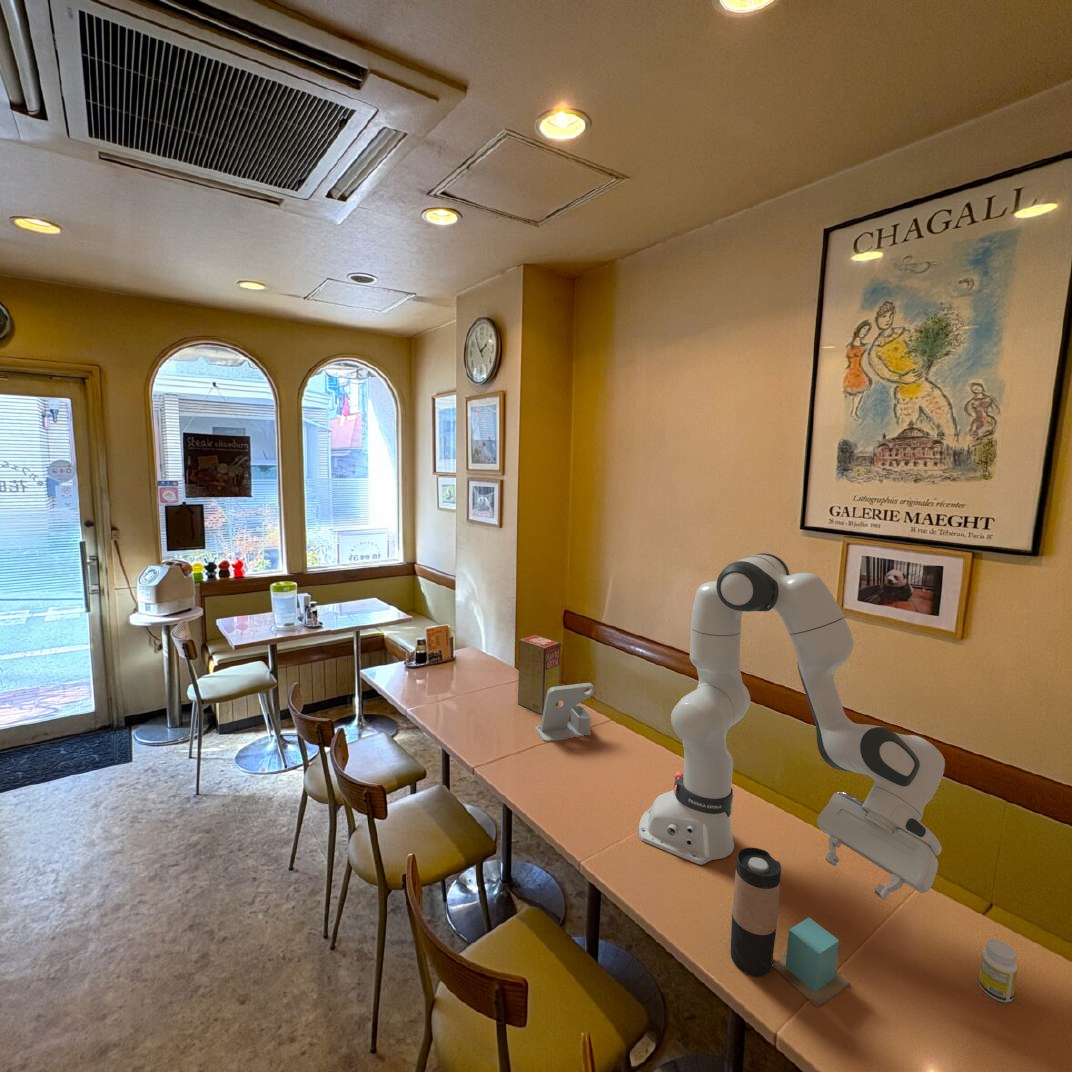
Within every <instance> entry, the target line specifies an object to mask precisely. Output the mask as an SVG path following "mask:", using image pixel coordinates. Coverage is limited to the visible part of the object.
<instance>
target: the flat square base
mask: <svg viewBox="0 0 1072 1072" xmlns="http://www.w3.org/2000/svg"><path fill="white" fill-rule="evenodd" d="M786 956H787V954H785V955H784V956H782V957H781V958H779V959H778V960H776V961H774V963H773V962H772V966H771V968H774V970H776V971H777V972H778V973H779V974H780V975H781V976H782V977H784V978H785V980H787V981H788V982H789V983H790V984H791V985H792V986H793V987H795V988H796V989H797V990H798V991H799V992H800V993H801V994H802V995H803V996H805V998H807V999H808V1000H809V1001H810V1002H811V1003H812V1004H813V1005H814V1006H815V1007H817V1008H820V1007H821V1006H822V1005H823V1004H825V1003H827V1002H828V1001H830V999H831V998H833V997H834V996H835V995H837V994H838V993H840V992H841V991H842V990H843V989H845V988H846V987H848V986H849V985H850V980H849V979H848V978H846V977H845V976H844V975H842V974H841V973H840V972H839V971H837V970H836V974H835V978H834V979H833V980H832V981H830V982H829V983H828V984H826V985H825V986H824V987H822V988H821V989H820V990H818V991H817V992H816V993H815V992H813V991H812V990H811V989H810V988H809V987H808V986H807V985H806V984H804V983H803V982H802V981H801V980H800V979H799V978H798V977H796V976H795V975H794V974H793V973H792V972H791V971H790V970H789V969H787V968H786Z"/></svg>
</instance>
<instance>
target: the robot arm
mask: <svg viewBox="0 0 1072 1072" xmlns="http://www.w3.org/2000/svg"><path fill="white" fill-rule="evenodd" d="M771 610H774V611H775V612H777V614H779V616H780V617H781V619H782V622H783V624H784V625H785V628H786V631H787V633H788V635H789V638H790V640H791V642H792V645H793V648H794V651H795V654H796V659H797V669H798V674H799V677H800V681H801V683H802V688H803V691H804V693H805V695H806V698H807V702H808V706H809V709H810V711H811V714H812V717H813V719H814V723H815V729H816V730H815V732H816V744H817V748H818V751H819V755H820V757H822V759H823V761H824V762H825V763H826V764H827V765H828V766H829V767H831V768H832V769H835V770H838V771H841V772H848V773H856V774H859V775H865V776H868V777H870V778H871V779H872V780H873V782H874V784H873V786H872V787H871V789H870V791H869V793H868V795H867V796H866V798H865V800H864V801H863V800H862V799H859V798H857V797H855V796H852V794H850V793H848V792H846V791H843V792H841V791H837V792H835V793H833V794H832V795H831V798H830V800H829V802H828V804H827V805H826V806H825V807H824V808H823V810H822V811H821V812H820V814H819V815H818V816H817V819H816V823H817V826H818V828H819V829H820V830H821V831H822V832H823V833H824V834H825V835H827V836H829V838H828V853H827V855H826V857H825V860H826V862H827V863H828V864H829V865H832V866H833V867H837V865H838V863H839V861H840V860H841V859H840V858H839V857H838V855H837V848H838V849H839V848H840V847H841V845H844V846H845V847H846V848H848V849H850V850H851V851H853V852H855V853H856V854H858V855H860V856H861V857H862V858H864V859H866V860H867V861H868V862H870V863H872V864H874V865H875V866H877V867H878V868H880V869H881V870H884V871H885V872H887V873H888V874H889V875H890V877H889V879H890V881H889V882H887V883H885V884H884V885H883V884H882V883H880V882H878V884H877V885H876V888H875V889H874V893H875V894H876V895H877V896H878V897H879V898H881V899H882V900H884V901H886V900H887V898H888V897H889V895H890V893H893V892H895V891H898V890H899V889H900V890H901V889H902V887H903V886H904V884H905V885H907V886H909V887H910V888H912V889H914V890H915V891H917V892H919V893H920V894H923V893H928V892H929V891H930V890H931V888H932V886H933V884H934V882H935V879H936V876H937V872H938V868H939V861H938V858H937V857H936V856H939V855H940V854H941V853H942V851H943V848H942V845H941V843H940V841H939V839H938V837H936V835H935V834H934V833H933V832H932V831H931V830H930V829H929V828H928V827H927V826H925V824H923V823H922V822H921V821H922V818H923V815H924V810H925V808H926V805H927V804H928V803H929V802H930V801H931V800H932V799H933V797H934V796H935V794H936V792H937V790H938V788H939V786H940V783H941V780H942V778H943V775H944V773H945V767H946V763H945V762H946V760H945V758H944V756H943V754H942V752H940V750H939V748H937V747H936V746H935V745H934V744H932V743H931V742H930V741H928V740H927V739H925V738H923V737H921V736H919V735H914V734H909V735H908V734H902V733H899V732H896V731H893V730H892V729H890V728H889V729H888V728H887V727H884V726H879V725H873V724H867V723H865V724H864V723H863V724H861V723H855V722H853V721H852V720H851V719H850V718H849V717H848V716H847V715H846V713H845V710H844V707H843V705H842V702H841V698H840V695H839V693H838V690H837V687H836V686H837V685H836V683H835V673H836V671H837V670H838V669H839V668H840V667H841V666H842V665H843V664H845V663H846V662H847V660H848V659H849V658H850V656H851V655H852V652H853V649H854V640H853V635H852V632H851V629H850V626H849V624H848V622H847V620H846V619H845V615H844V614H843V612H842V610H841V607H840V606H839V604H838V602H837V600H836V599H835V597H834V595H833V594H832V592H831V591H830V589H829V588H828V586H827V585H826V584H825V582H824V581H823V579H822V578H821V577H820V576H818V575H817V574H814V573H811V572H796V573H793V574H790V569H789V567H788V566H787V564H786V563H785V562H784V561H783V559H781V558H780V557H778V556H776V555H774V554H771V553H766V552H765V553H763V552H762V553H756V554H751V555H748V556H744V557H742V558H740V559H738V560H736V561H733V562H732V563H729V564H728V565H726V566H725V567H724V568H723V569H722V570H721V572H720V573H719V575H718V577H717V579H716V580H711V581H707V582H705V583H702V584H701V585H700V586H699V587H698V588H697V589H696V592H695V595H694V601H693V605H692V610H691V619H690V639H689V640H690V642H689V661H690V662H691V664H692V665H693V666H694V667H695V668H696V671H697V672H696V673H697V676H698V685H697V687H696V688H695V689H694V690H693V691H690V692H688V693H687V694H686V695H684V696H683V697H682V698H681V699H680V700H679V701H678V702H677V703H676V705H675V706H674V708H673V709H672V711H671V715H670V721H671V722H670V723H671V726H672V729H673V731H674V733H675V734H676V735H677V737H679V739H680V740H681V741H682V746H683V752H684V756H683V757H684V758H683V759H684V760H683V772H682V771H677V772H676V773H675V776H674V785H673V789H672V790H669V791H667V792H664V793H661V794H660V795H658V796H656V798H655V800H654V801H653V802H652V805H651V807H649V808H648V809H646V810H645V812H644V813H643V814H642V816H641V818H640V821H639V824H638V835H639V838H640V840H641V841H643V842H644V843H647V844H649V845H650V846H654V847H656V848H659V849H661V850H664V851H665V852H668V853H670V854H672V855H676V856H678V857H680V858H682V859H684V860H687V861H689V862H692V863H695V864H697V865H705V864H707V863H708V862H710V861H713V860H716V861H717V860H721V859H724V858H727V857H728V856H731V854H732V853H733V851H734V849H735V842H734V837H733V833H732V824H731V814H732V812H733V802H734V794H733V793H734V792H733V787H732V781H733V768H734V759H733V756H732V755H731V752H729V750H728V749H727V741H726V740H727V739H726V738H727V737H726V736H727V734H728V732H729V729H730V728H731V727H733V726H734V725H735V724H736V723H738V722H740V721H741V720H742V719H743V717H744V716H745V715H746V713H747V711H748V709H749V708H750V705H751V695H750V692H749V690H748V687H746V685H745V684H744V681H743V677H742V672H741V662H740V659H741V634H742V633H741V631H742V617H743V612H745V613H746V612H751V613H752V612H770V611H771Z"/></svg>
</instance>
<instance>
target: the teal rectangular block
mask: <svg viewBox="0 0 1072 1072" xmlns="http://www.w3.org/2000/svg"><path fill="white" fill-rule="evenodd" d="M839 944H840V940H839V939H838V938H837V937H835V936H834V935H833V934H831V933H830V932H829V931H827V930H826V929H825V928H823V926H821V925H820V924H818V923H817V922H816V921H814V920H813V919H812V918H811V917H807V918H806V919H804V920H802V921H801V922H799V923H797V924H796V925H794V926H793V927H791V928H789V929H788V937H787V945H786V946H787V949H786V955H787V956H786V968H787V969H789V970H790V971H791V972H792V973H793V974H794V975H795V976H796V977H798V978H799V979H800V980H801V981H802V982H803V983H804V984H806V985H807V986H808V987H809V988H810V989H811V990H812V991H813V992H815V993H816V992H817V991H818V990H820V989H821V988H822V987H824V986H825V985H826V984H828V983H829V982H830V981H832V980H833V979H834V978H835V974H836V971H837V963H838V953H839V946H840V945H839Z"/></svg>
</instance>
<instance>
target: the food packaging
mask: <svg viewBox="0 0 1072 1072" xmlns="http://www.w3.org/2000/svg"><path fill="white" fill-rule="evenodd" d="M518 642H519V644H518V645H519V646H518V648H519V649H518V652H519V653H518V685H517V686H518V689H517V690H518V691H517V704H518V705H519V706H521V707H524V708H525V709H528V710H530V711H532V712H535V713H536V714H540V715H541V716H543V711H544V705H545V700H546V695H547V691H548V690H549V689H550V688H552V687H557V686H560V671H561V669H560V668H561V667H560V666H561V645H562V643H561V642H560V641H555V640H553V639H552V640H551V639H549V638H546V637H543V636H539V635H536V634H533V635H531V636H527V637H522V638H520V639H519V641H518ZM559 702H560V701H558V702H557V703H556V704H555V705H556V707H559V705H560V704H559Z"/></svg>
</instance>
